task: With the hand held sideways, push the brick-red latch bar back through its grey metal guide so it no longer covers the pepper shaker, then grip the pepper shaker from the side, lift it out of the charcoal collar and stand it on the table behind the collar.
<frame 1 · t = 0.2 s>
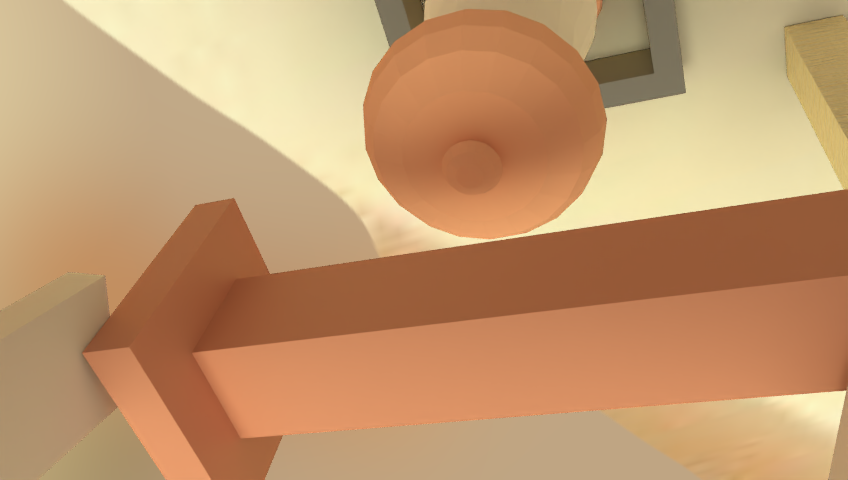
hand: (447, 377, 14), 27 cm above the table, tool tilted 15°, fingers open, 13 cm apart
latch bar: (748, 299, 14), point 26 cm above the table, slide at 0.2 cm
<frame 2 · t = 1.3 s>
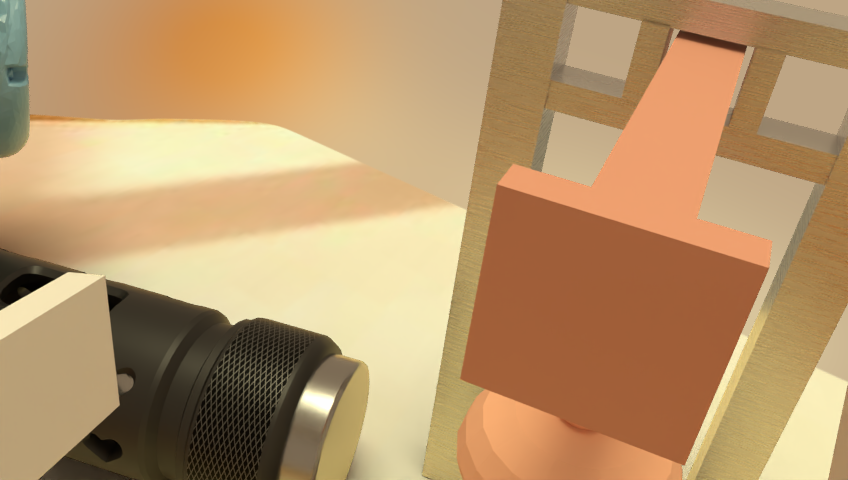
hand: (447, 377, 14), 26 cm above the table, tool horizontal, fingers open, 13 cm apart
muzzle brake: (99, 443, 45), on the table
latch bar: (678, 129, 25), point 26 cm above the table, slide at 0.0 cm
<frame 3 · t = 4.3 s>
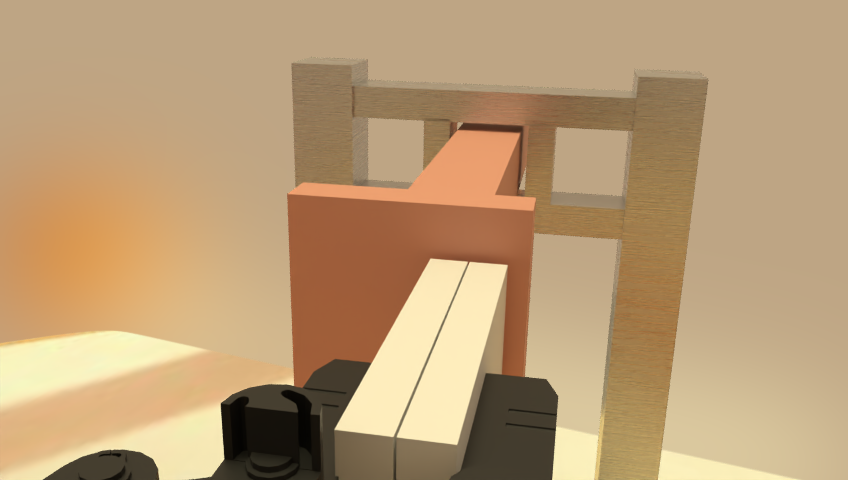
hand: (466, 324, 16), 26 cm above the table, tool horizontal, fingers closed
latch bar: (474, 187, 27), point 25 cm above the table, slide at 1.4 cm, touching gripper
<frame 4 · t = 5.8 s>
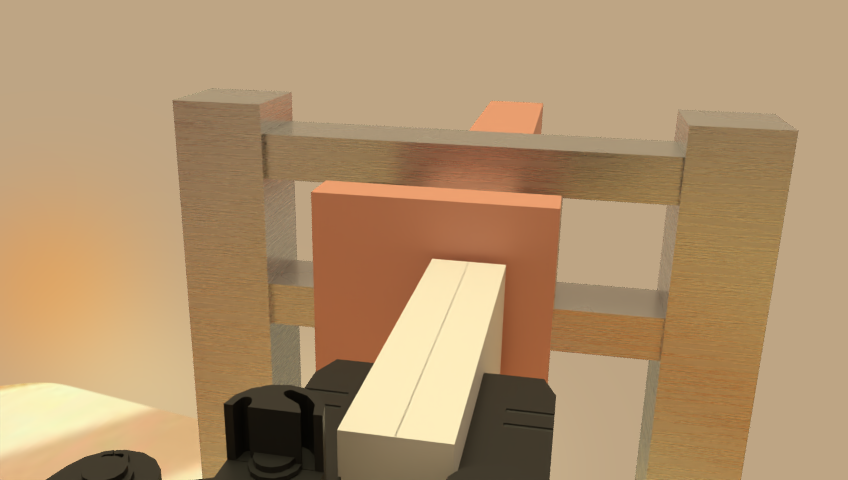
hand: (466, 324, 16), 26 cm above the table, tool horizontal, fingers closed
latch bar: (489, 185, 27), point 25 cm above the table, slide at 11.9 cm, touching gripper
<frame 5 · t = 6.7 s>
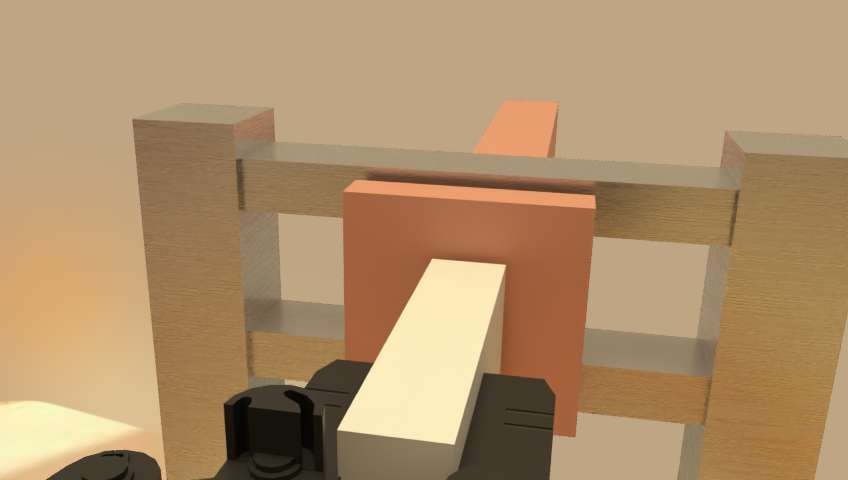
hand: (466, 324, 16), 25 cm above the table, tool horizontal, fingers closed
latch bar: (509, 185, 27), point 26 cm above the table, slide at 15.1 cm, touching gripper
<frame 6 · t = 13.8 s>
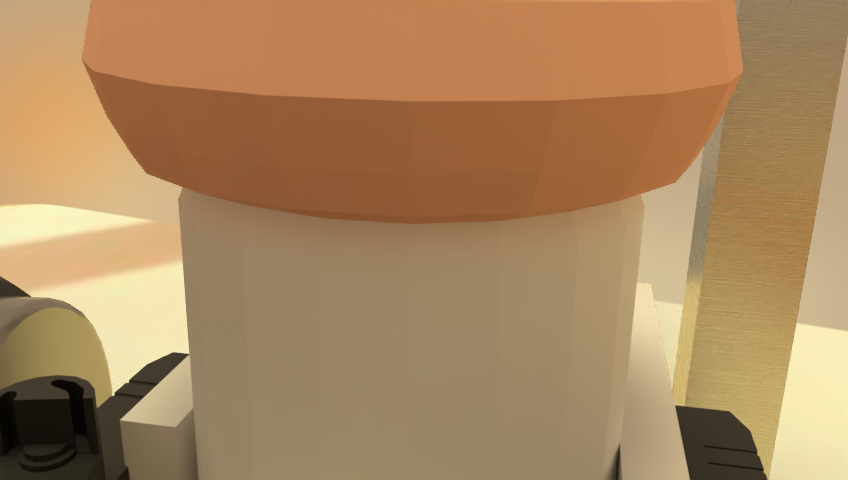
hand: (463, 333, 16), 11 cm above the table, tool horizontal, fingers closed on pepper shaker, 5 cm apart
when the fingers open (12 cm above the table, at t = 17.7 s): pepper shaker drops 1 cm, on the table.
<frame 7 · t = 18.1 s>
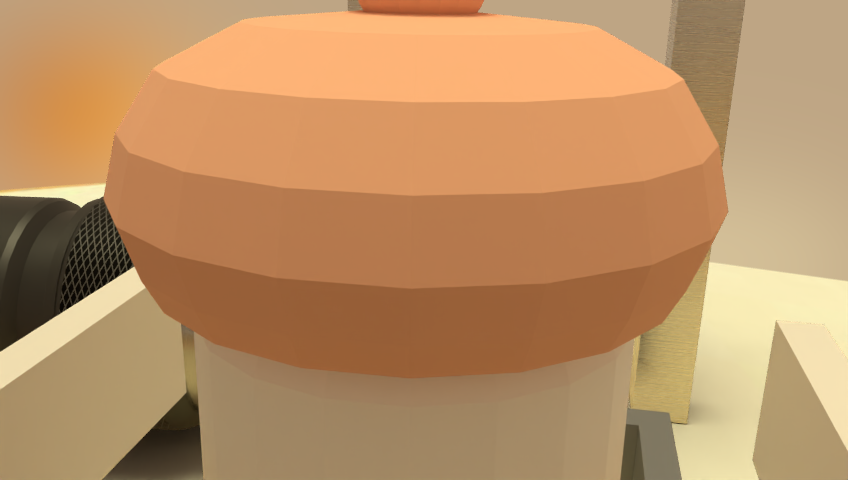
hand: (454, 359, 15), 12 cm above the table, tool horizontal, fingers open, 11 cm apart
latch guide: (515, 391, 38), on the table
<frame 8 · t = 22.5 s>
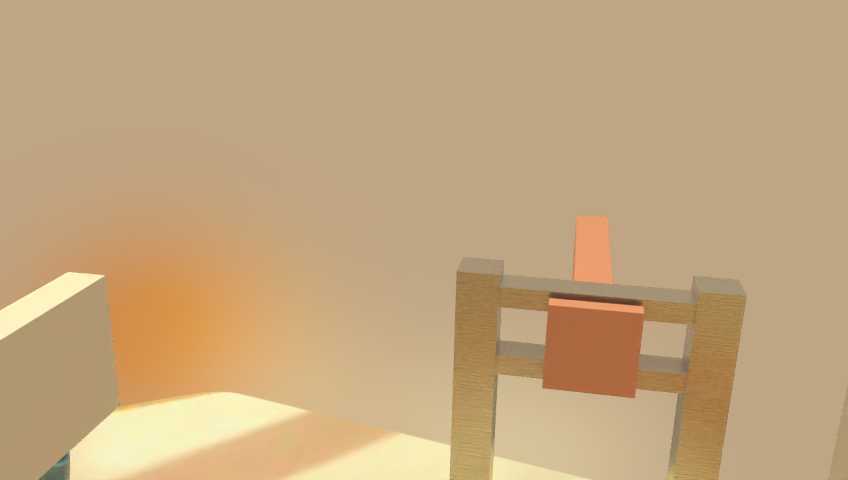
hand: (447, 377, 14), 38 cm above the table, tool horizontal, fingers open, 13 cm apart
latch bar: (591, 279, 54), point 26 cm above the table, slide at 15.0 cm
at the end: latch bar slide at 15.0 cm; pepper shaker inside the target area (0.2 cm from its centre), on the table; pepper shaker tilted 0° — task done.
